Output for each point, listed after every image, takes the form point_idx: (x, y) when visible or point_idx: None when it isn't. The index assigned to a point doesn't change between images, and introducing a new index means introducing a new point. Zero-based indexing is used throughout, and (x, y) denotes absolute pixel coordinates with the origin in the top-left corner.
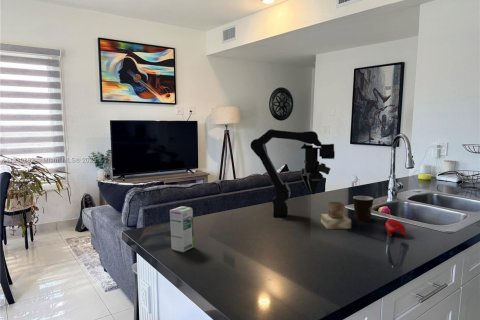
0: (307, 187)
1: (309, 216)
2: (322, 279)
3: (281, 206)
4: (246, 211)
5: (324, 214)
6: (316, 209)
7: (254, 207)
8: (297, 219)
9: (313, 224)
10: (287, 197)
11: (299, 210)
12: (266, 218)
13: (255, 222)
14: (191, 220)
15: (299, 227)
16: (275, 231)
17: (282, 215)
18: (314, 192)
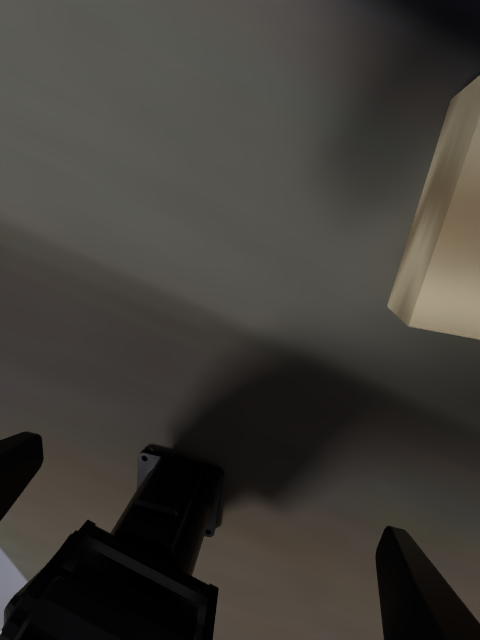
0: (1, 508)
1: (231, 329)
2: None
3: (193, 563)
4: None
5: (442, 303)
6: (46, 192)
7: (11, 533)
8: (284, 432)
9: (434, 387)
10: (191, 636)
11: (72, 332)
12: (225, 564)
13: (284, 628)
14: None
15: (461, 492)
16: None
17: (211, 496)
18: (429, 573)
